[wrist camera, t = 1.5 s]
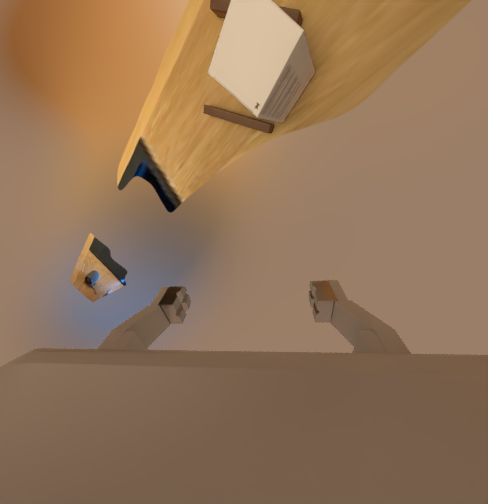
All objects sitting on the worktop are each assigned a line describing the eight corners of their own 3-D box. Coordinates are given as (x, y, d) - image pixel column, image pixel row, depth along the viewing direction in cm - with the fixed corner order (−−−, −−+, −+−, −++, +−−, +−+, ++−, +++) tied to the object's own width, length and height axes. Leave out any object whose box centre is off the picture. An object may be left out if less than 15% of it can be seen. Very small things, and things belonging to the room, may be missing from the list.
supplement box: (317, 71, 32) (308, 30, 19) (283, 124, 38) (259, 120, 25) (276, 33, 31) (238, -36, 18) (248, 93, 37) (205, 73, 24)
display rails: (219, 4, 32) (211, -6, 30) (302, 19, 29) (300, 10, 27) (210, 114, 42) (203, 113, 39) (271, 133, 39) (268, 133, 37)
